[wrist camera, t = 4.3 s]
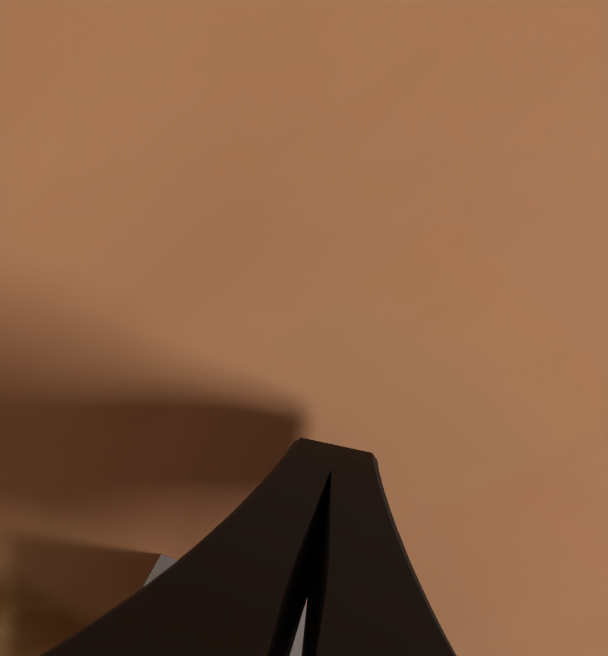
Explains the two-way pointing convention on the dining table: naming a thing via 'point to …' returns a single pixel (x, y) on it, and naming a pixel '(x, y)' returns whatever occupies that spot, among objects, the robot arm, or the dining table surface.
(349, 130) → the dining table surface
